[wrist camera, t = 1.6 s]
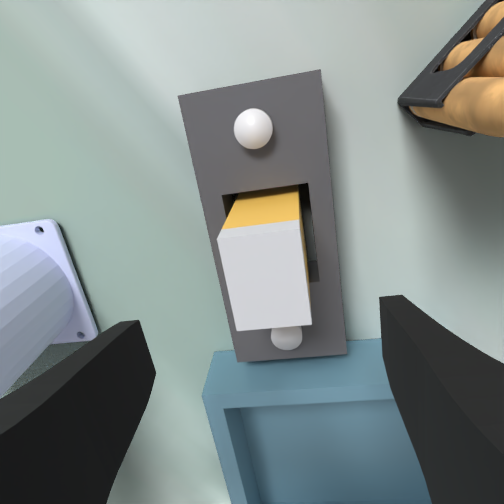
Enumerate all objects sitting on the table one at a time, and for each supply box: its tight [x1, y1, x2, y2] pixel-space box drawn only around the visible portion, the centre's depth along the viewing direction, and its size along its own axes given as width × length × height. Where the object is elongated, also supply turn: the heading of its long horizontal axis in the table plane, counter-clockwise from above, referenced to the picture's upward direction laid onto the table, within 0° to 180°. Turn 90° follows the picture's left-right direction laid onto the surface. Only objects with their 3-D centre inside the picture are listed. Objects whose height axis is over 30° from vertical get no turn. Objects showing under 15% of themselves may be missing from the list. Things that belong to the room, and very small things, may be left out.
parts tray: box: [202, 338, 432, 504], centre depth 25 cm, size 14×14×4 cm
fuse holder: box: [178, 69, 347, 362], centre depth 20 cm, size 6×14×3 cm, turn 10°
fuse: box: [217, 184, 312, 331], centre depth 18 cm, size 3×4×7 cm
